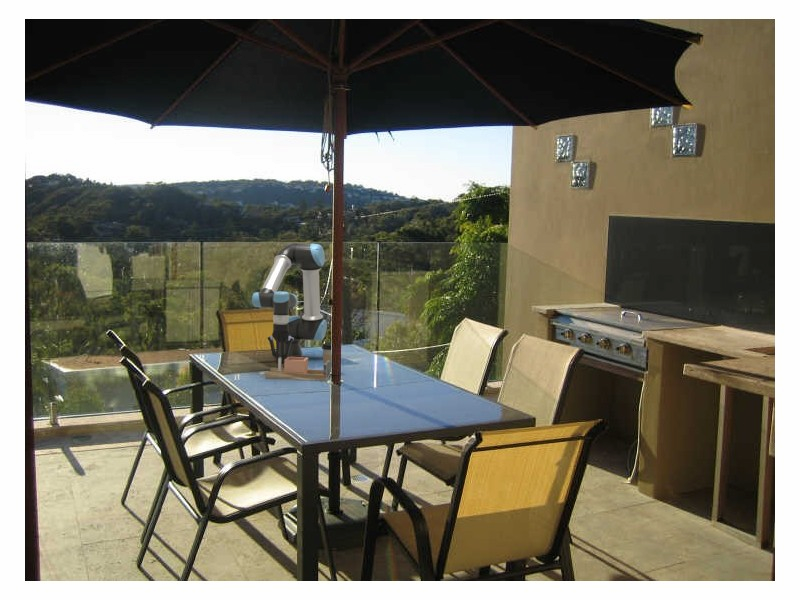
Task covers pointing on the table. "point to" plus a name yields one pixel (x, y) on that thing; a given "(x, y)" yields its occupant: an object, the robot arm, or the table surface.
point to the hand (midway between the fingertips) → (280, 370)
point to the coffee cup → (327, 353)
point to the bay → (312, 374)
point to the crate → (296, 365)
